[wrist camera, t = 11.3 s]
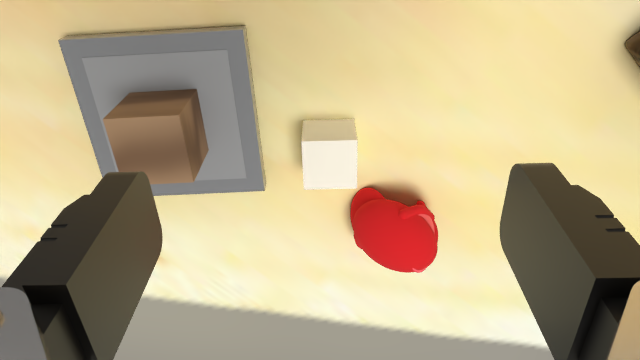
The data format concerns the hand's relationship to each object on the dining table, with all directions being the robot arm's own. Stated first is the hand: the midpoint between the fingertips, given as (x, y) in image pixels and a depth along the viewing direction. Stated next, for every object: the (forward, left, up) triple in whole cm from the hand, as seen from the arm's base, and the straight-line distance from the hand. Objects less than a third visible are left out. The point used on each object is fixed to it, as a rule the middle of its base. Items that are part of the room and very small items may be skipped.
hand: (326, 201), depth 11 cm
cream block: (+11, 0, -26) cm, 29 cm away
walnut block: (+8, -12, -25) cm, 29 cm away
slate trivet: (+8, -12, -26) cm, 30 cm away
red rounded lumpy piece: (+18, +5, -26) cm, 32 cm away
